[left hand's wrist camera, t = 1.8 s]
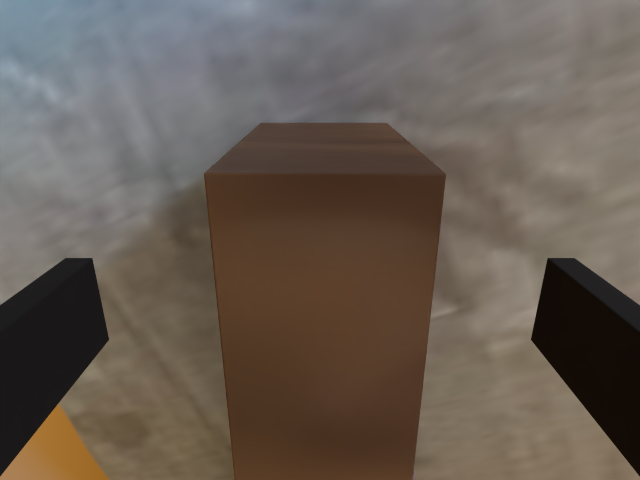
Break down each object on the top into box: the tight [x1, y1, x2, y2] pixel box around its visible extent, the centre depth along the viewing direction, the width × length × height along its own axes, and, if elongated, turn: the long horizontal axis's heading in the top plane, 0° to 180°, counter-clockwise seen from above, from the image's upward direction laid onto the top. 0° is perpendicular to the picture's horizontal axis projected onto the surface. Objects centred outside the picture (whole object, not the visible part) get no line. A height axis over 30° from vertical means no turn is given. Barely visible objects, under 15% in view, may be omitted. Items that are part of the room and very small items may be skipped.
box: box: [204, 123, 446, 480], centre depth 21 cm, size 27×6×11 cm, turn 0°
